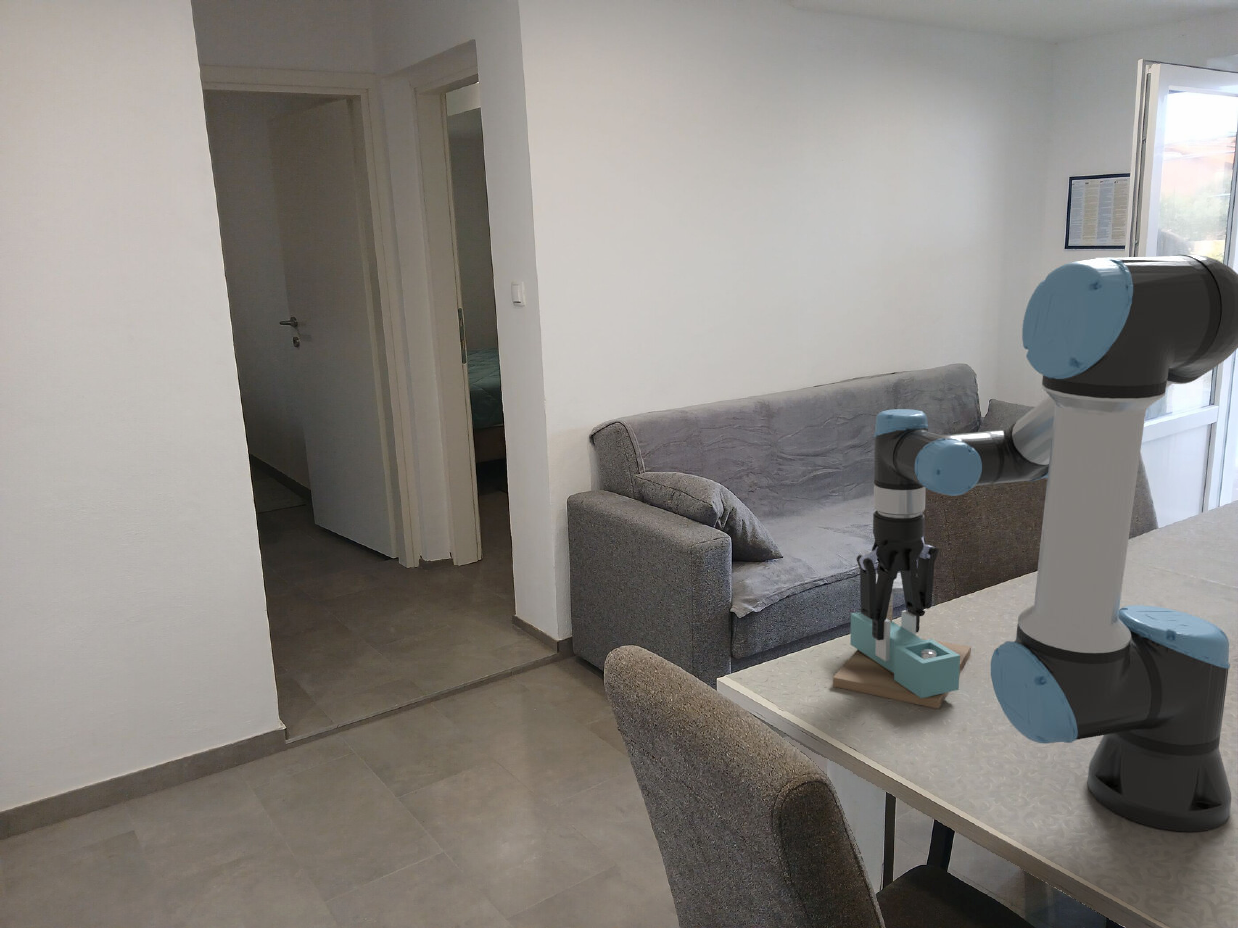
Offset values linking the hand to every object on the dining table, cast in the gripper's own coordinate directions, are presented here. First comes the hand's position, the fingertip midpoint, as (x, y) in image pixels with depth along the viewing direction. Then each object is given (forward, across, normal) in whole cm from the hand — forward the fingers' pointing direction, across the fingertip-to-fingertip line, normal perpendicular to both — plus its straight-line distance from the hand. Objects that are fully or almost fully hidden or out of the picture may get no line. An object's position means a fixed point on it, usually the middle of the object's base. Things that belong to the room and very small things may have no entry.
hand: (895, 654), depth 150 cm
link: (+2, 0, +1) cm, 2 cm away
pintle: (+4, 0, +8) cm, 8 cm away
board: (+4, -2, -1) cm, 4 cm away
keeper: (+4, -5, -9) cm, 11 cm away
